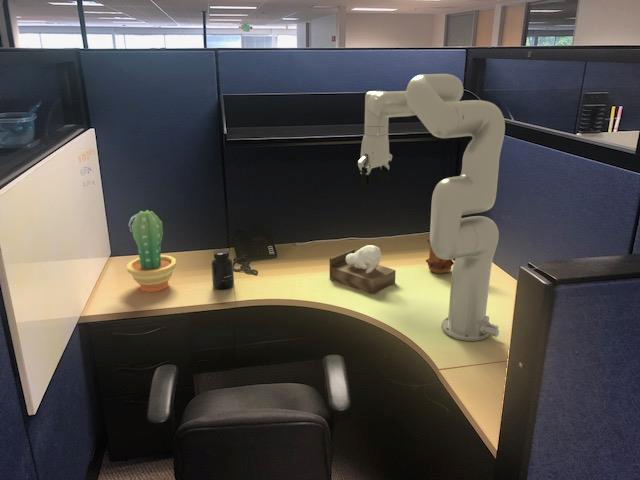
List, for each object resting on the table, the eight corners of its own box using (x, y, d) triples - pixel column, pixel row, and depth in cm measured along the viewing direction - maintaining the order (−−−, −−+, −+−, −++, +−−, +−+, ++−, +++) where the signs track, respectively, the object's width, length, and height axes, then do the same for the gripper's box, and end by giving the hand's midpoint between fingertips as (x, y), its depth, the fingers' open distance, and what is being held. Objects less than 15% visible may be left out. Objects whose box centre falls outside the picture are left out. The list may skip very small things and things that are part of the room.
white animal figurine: (374, 249, 160) (340, 246, 166) (376, 275, 162) (342, 271, 168) (382, 243, 165) (349, 241, 171) (384, 268, 168) (351, 265, 174)
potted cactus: (172, 273, 178) (164, 203, 169) (184, 289, 165) (176, 214, 157) (125, 282, 171) (115, 209, 162) (134, 300, 158) (123, 222, 150)
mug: (422, 272, 176) (424, 231, 171) (428, 264, 183) (431, 224, 178) (465, 280, 170) (469, 237, 165) (470, 271, 177) (474, 230, 172)
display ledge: (395, 282, 168) (396, 261, 166) (372, 294, 160) (373, 272, 158) (352, 268, 180) (352, 248, 178) (329, 279, 172) (329, 258, 169)
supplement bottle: (229, 291, 163) (226, 256, 159) (209, 289, 165) (206, 254, 161) (237, 282, 170) (235, 248, 166) (218, 281, 171) (215, 247, 167)
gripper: (382, 127, 173) (381, 177, 179) (350, 133, 161) (349, 186, 167) (401, 129, 168) (399, 180, 174) (369, 135, 156) (367, 190, 162)
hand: (374, 183), depth 170 cm, fingers open, 9 cm apart
